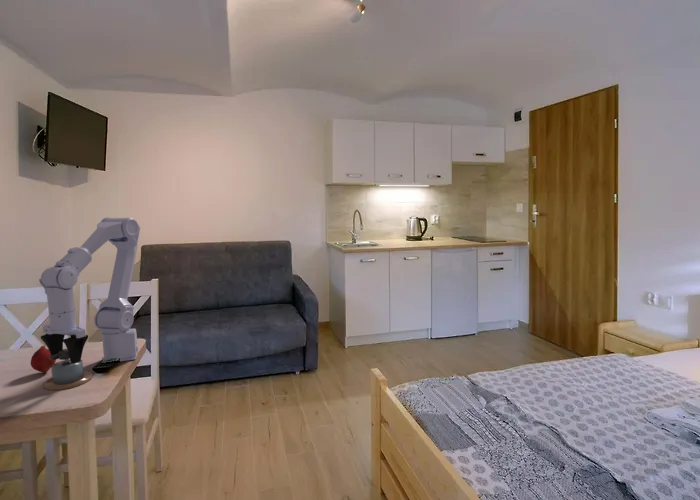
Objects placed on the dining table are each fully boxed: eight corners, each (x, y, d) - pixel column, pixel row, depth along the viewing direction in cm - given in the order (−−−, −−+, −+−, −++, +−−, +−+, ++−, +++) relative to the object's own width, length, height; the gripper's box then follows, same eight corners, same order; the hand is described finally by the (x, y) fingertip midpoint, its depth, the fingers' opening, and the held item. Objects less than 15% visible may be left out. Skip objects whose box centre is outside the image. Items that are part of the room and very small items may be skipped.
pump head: (75, 358, 115) (74, 347, 115) (70, 364, 111) (69, 353, 111) (54, 360, 114) (53, 350, 113) (49, 367, 109) (48, 356, 109)
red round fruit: (37, 378, 116) (34, 350, 115) (28, 374, 119) (25, 347, 118) (60, 371, 121) (58, 344, 120) (51, 367, 124) (48, 341, 123)
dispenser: (95, 370, 121) (94, 352, 120) (88, 385, 111) (86, 365, 110) (50, 377, 117) (48, 358, 116) (38, 393, 107) (36, 372, 106)
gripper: (28, 312, 111) (34, 362, 112) (64, 317, 105) (69, 369, 107) (56, 306, 117) (60, 353, 119) (91, 310, 112) (95, 359, 113)
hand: (66, 360), depth 113 cm, fingers open, 7 cm apart
